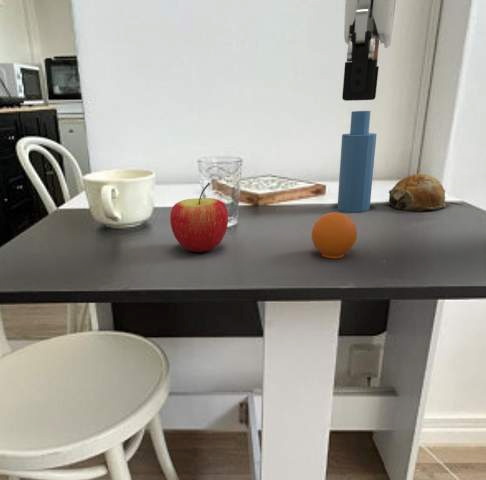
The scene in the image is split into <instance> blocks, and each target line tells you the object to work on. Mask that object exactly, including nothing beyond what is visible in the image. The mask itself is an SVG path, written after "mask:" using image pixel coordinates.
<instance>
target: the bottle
mask: <svg viewBox="0 0 486 480" xmlns="http://www.w3.org/2000/svg"><path fill="white" fill-rule="evenodd" d="M350 114H351V115H350V126H349V133H343V134H342V135H341V145H340V146H341V147H340V160H339V161H340V162H339V175H338V176H339V177H338V193H337V210H338V211H341V212H346V213H365V212H368V211H370V209H371V196H372V190H373V189H372V186H373V176H374V166H375V155H376V145H377V133H375V132H370V123H371V122H370V121H371V110H353V111H351V113H350Z"/></svg>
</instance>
